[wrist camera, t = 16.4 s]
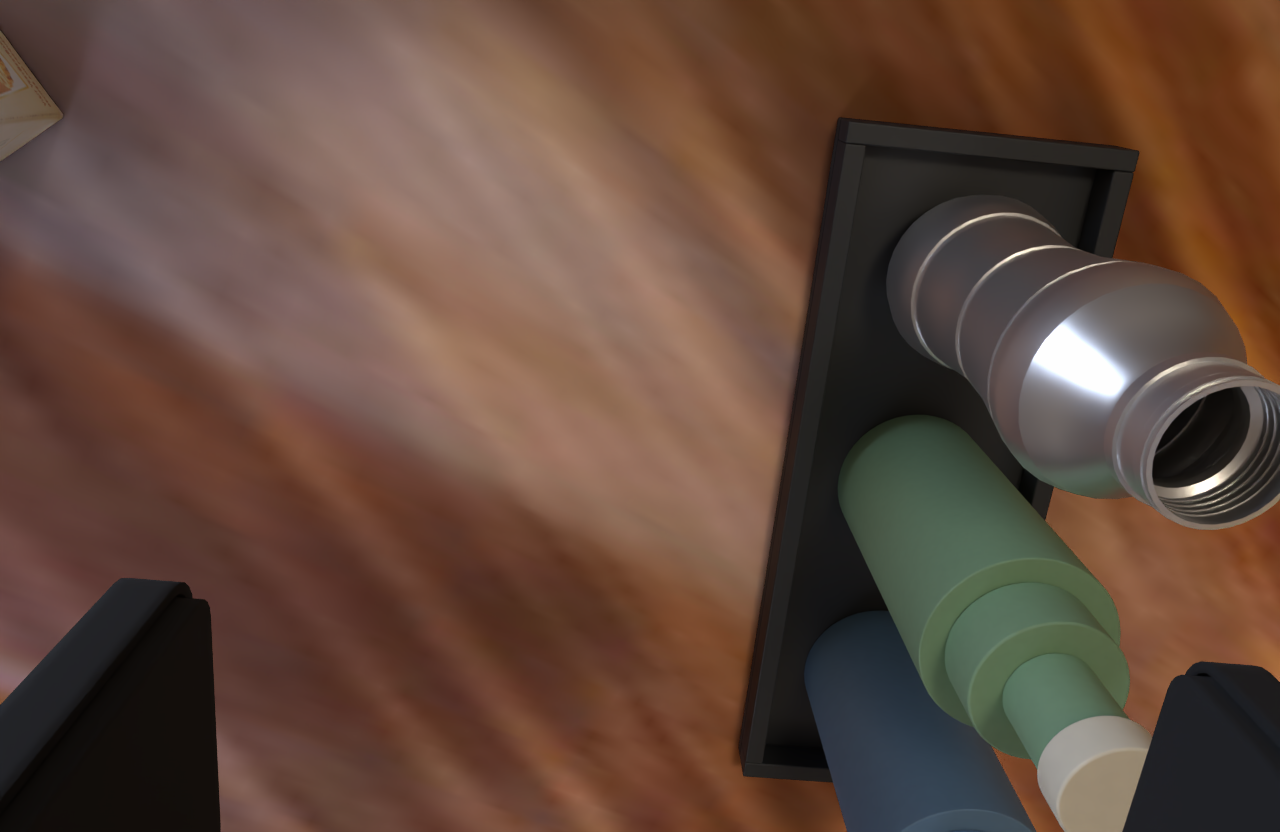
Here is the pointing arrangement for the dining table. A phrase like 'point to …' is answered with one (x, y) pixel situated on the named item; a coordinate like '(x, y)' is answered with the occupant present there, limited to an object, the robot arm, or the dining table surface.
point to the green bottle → (997, 614)
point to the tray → (886, 381)
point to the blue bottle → (900, 740)
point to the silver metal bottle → (1091, 362)
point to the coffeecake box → (21, 102)
